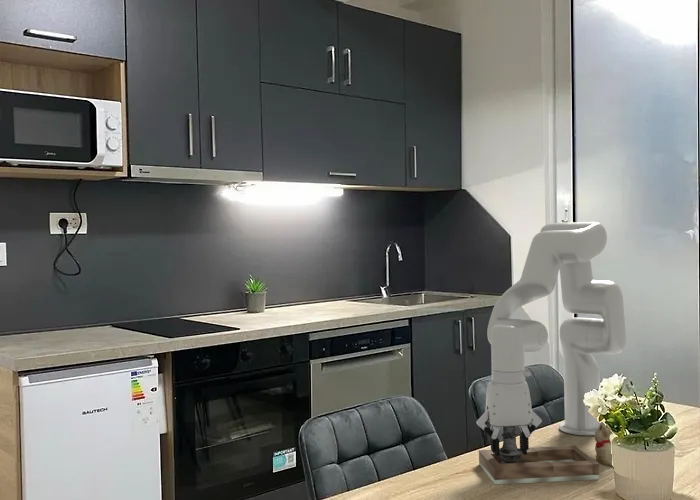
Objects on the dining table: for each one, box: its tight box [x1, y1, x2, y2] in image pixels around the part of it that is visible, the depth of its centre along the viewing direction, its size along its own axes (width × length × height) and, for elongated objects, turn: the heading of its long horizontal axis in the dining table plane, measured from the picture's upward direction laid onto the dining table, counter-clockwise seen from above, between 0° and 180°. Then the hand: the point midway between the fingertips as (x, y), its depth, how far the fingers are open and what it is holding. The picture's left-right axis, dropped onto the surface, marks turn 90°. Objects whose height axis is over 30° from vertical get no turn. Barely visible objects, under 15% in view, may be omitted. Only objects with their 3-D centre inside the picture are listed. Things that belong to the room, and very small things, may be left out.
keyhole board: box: [478, 445, 600, 485], centre depth 168 cm, size 24×14×4 cm, turn 94°
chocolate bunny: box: [594, 422, 613, 467], centre depth 175 cm, size 6×8×10 cm
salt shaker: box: [499, 426, 523, 464], centre depth 168 cm, size 6×6×12 cm
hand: (509, 452), depth 168 cm, fingers closed on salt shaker, 5 cm apart
